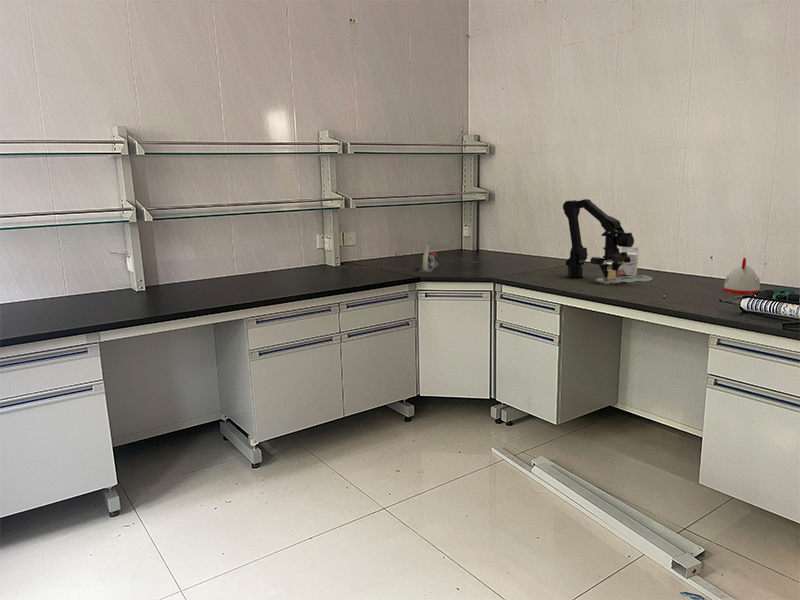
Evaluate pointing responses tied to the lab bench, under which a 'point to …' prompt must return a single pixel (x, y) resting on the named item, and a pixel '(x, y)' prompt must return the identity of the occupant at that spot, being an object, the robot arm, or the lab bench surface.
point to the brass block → (610, 274)
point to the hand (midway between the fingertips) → (609, 277)
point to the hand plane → (428, 260)
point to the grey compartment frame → (625, 279)
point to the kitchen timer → (742, 280)
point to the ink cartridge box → (632, 266)
